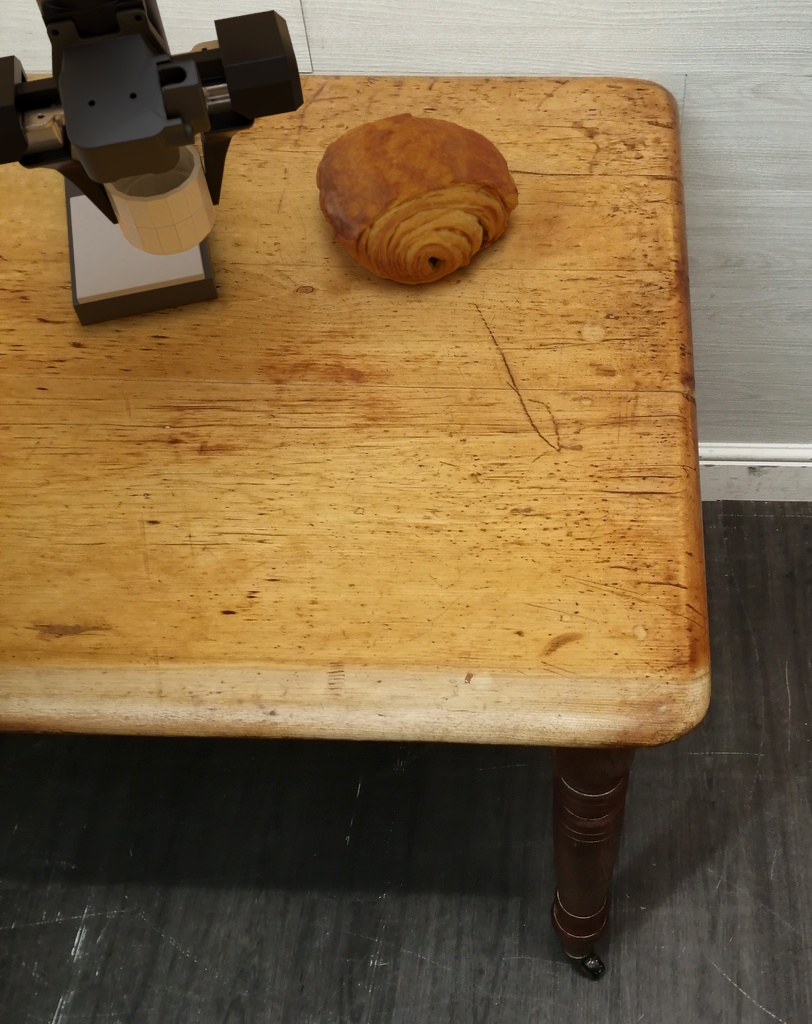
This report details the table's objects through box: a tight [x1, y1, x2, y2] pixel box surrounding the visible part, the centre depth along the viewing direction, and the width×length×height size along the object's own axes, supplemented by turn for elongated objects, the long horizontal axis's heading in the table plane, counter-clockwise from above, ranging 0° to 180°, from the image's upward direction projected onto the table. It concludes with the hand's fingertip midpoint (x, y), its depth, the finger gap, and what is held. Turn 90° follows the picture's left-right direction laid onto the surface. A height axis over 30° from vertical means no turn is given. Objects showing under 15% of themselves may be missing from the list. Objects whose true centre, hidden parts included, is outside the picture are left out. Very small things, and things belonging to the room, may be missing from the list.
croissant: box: [315, 112, 520, 285], centre depth 73 cm, size 14×16×8 cm
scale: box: [63, 176, 219, 326], centre depth 77 cm, size 10×26×5 cm, turn 13°
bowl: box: [103, 144, 217, 255], centre depth 60 cm, size 6×6×4 cm
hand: (165, 210), depth 61 cm, fingers closed on bowl, 6 cm apart
